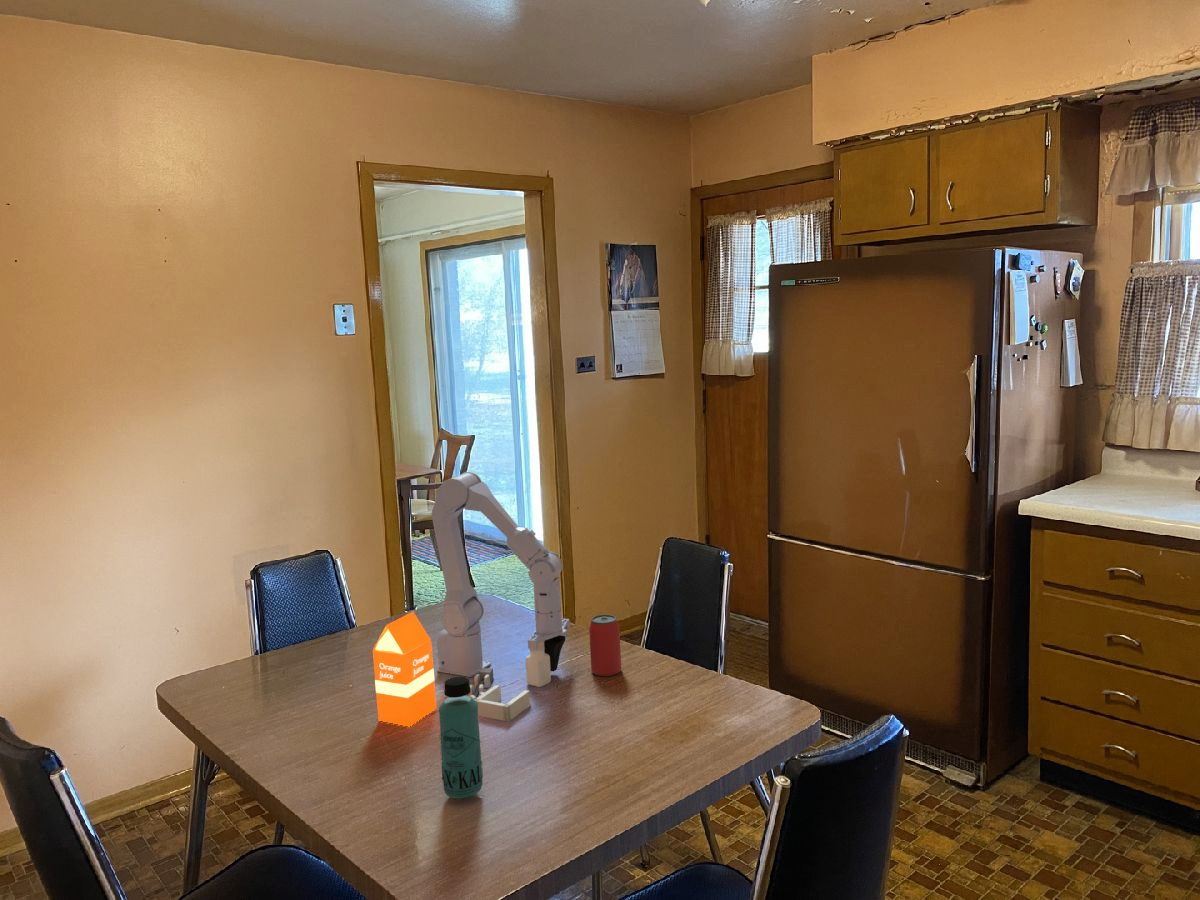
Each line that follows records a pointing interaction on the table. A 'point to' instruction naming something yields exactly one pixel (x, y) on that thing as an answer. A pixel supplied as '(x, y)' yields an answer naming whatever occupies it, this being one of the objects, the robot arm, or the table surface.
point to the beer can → (605, 645)
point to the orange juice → (404, 672)
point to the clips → (481, 687)
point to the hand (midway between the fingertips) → (551, 669)
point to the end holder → (501, 704)
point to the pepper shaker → (538, 667)
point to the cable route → (483, 673)
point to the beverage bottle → (460, 740)
